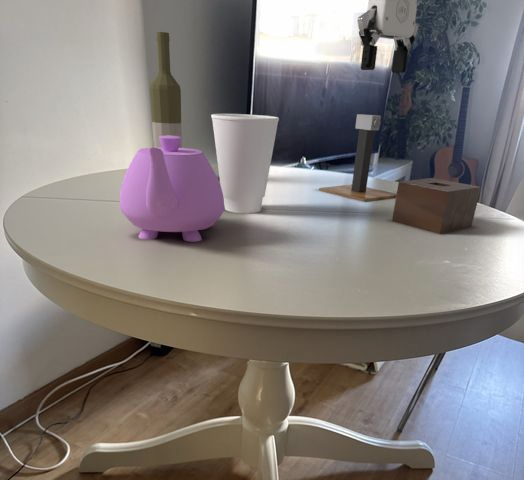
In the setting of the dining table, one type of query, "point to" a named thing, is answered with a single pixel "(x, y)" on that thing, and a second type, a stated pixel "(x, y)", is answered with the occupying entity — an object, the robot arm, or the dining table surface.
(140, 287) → the dining table surface
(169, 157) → the teapot
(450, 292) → the dining table surface
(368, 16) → the robot arm
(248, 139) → the cup
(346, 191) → the wooden board
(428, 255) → the dining table surface
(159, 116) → the bottle
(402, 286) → the dining table surface
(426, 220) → the holder
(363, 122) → the long square rod
